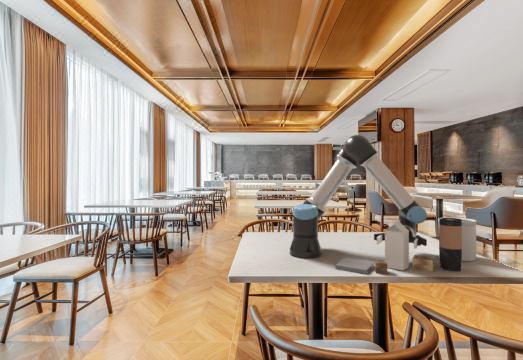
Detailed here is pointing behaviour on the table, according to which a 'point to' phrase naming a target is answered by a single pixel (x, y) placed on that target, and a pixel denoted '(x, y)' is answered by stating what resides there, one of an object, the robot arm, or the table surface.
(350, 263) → the slate board
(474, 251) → the utensil holder
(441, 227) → the travel mug
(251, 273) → the table surface
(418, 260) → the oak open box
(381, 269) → the walnut block
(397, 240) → the milk carton
